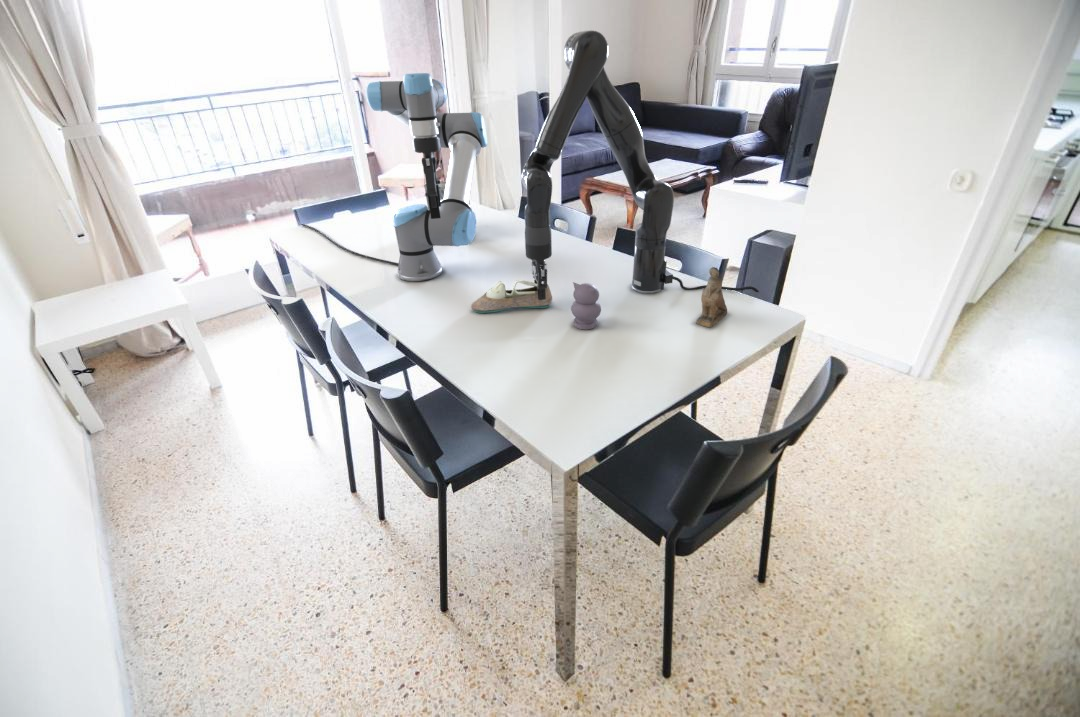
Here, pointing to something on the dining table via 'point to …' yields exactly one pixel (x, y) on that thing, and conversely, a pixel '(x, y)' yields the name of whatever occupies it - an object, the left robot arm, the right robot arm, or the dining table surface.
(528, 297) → the speckled felt slipper
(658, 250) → the right robot arm
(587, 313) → the cat figurine
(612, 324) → the dining table surface
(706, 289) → the worn brown figurine
